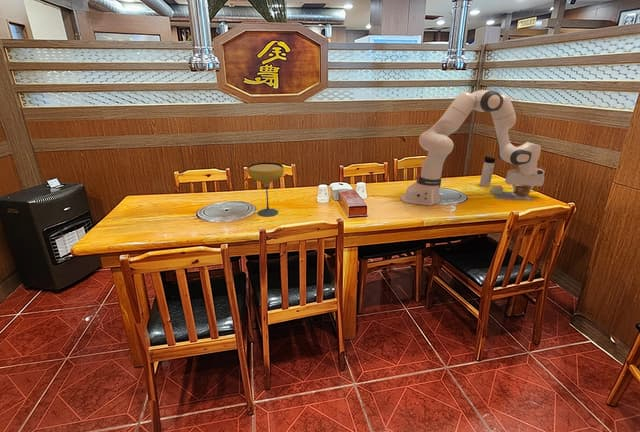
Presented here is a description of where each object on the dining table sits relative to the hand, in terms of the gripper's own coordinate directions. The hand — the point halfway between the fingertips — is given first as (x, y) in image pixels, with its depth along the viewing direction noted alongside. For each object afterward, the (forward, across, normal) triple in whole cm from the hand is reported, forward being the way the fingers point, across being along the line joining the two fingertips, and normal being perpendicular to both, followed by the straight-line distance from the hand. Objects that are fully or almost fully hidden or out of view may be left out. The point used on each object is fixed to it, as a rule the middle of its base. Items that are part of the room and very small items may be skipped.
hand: (521, 192), depth 207 cm
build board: (+4, -5, 0) cm, 6 cm away
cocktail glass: (+4, -143, -48) cm, 151 cm away
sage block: (+3, -12, +4) cm, 13 cm away
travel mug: (+4, -15, +19) cm, 25 cm away
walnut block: (+1, 0, 0) cm, 1 cm away
